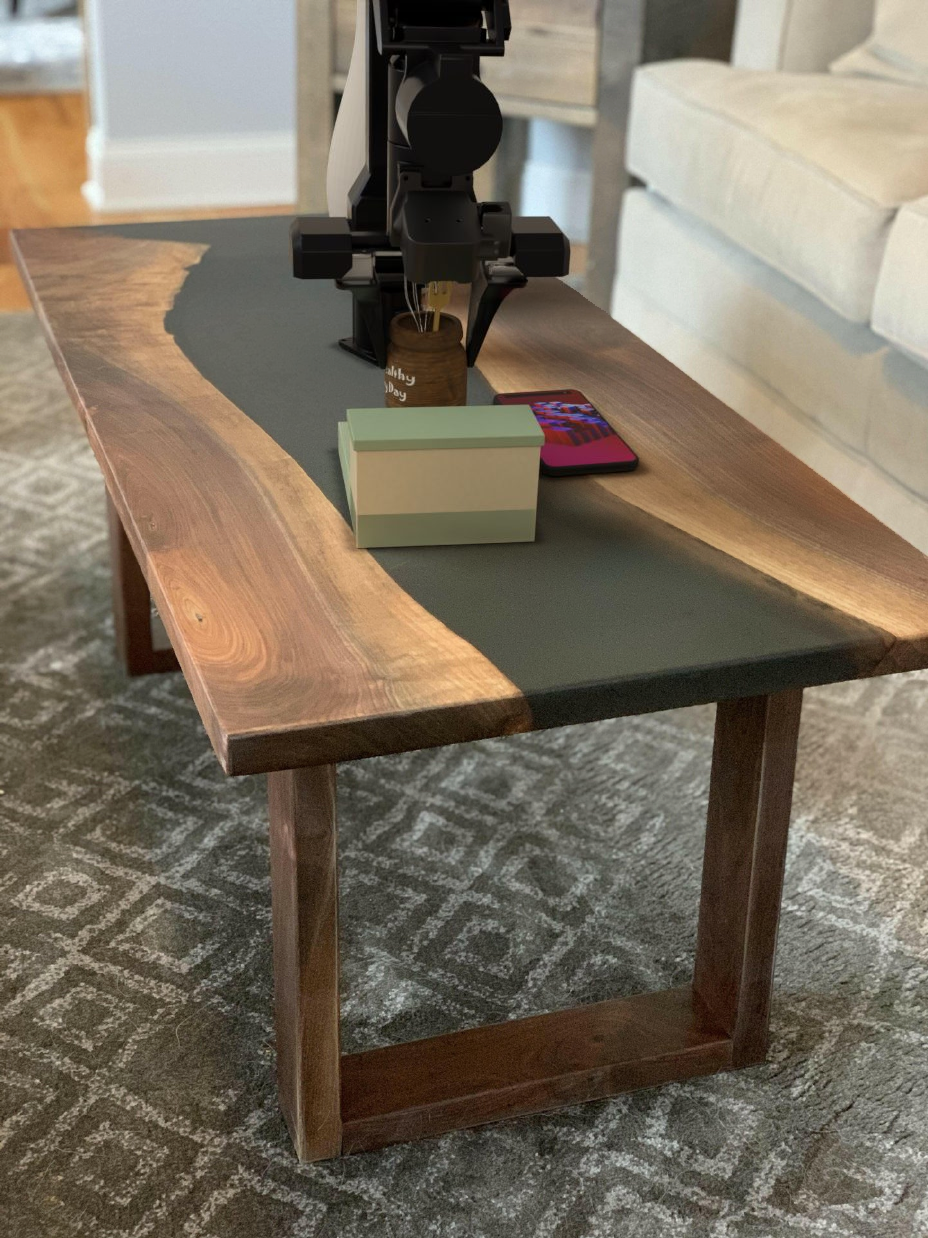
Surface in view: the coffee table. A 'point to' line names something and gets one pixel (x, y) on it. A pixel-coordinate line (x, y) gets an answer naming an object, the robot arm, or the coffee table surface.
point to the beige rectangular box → (441, 474)
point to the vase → (349, 129)
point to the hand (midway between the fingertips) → (425, 366)
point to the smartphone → (573, 433)
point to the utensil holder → (426, 356)
